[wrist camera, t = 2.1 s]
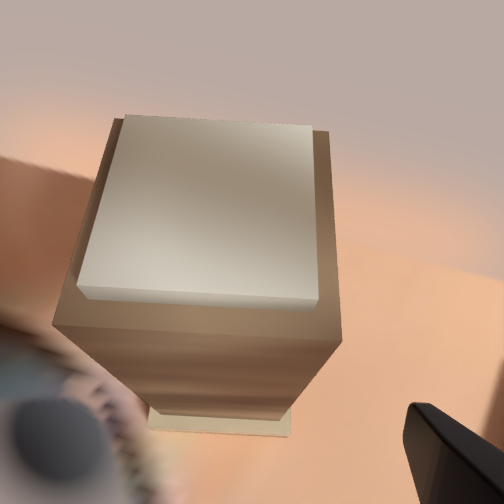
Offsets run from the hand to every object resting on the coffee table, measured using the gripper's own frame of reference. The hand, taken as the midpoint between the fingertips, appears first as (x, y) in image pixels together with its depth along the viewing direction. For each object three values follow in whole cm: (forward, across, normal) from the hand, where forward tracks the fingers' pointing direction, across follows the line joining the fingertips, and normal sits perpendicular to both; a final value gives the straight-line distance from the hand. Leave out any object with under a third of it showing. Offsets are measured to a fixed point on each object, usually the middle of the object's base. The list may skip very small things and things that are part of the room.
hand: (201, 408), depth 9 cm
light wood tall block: (+10, 0, +5) cm, 11 cm away
